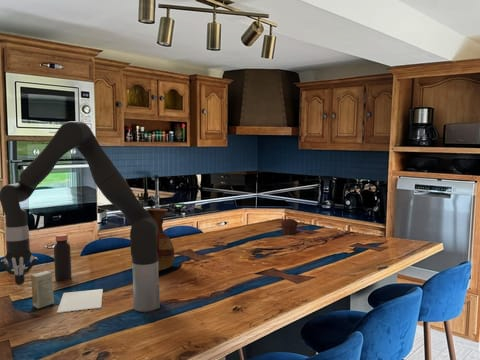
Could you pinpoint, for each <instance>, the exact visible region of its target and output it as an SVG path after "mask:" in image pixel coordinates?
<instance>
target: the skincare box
mask: <svg viewBox="0 0 480 360" xmlns="http://www.w3.org/2000/svg"><path fill="white" fill-rule="evenodd" d="M30 281H31V294H32V305H33V307H35V308H36V309H40V308H43V307H44V308H45V307H47V306H50V305H53V304H55V299H54V298H55V296H54V283H53V272H51V271H48V270H43V271H40V272H36V273H33V274H30Z"/></svg>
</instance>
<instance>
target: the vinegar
mask: <svg viewBox="0 0 480 360" xmlns="http://www.w3.org/2000/svg"><path fill="white" fill-rule="evenodd" d="M68 239H69V237H68V234H67V233H58V234H56V235H55V241H56V243H55V245H54V246H53V257H54V260H53V261H54V263H53V264H54V279H55V281H58V282H64V281H68V280H70V279H71V278H72V258H71V257H72V256H71V253H72V252H71V244H69V243H68V241H69V240H68Z"/></svg>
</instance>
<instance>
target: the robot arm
mask: <svg viewBox="0 0 480 360" xmlns="http://www.w3.org/2000/svg"><path fill="white" fill-rule="evenodd" d="M74 148H76V150H77V151H79V153H80V154H81V155H82V157H83V158H84V160H85V161H86V163H87V165H88V168H89V171H90V174H91V177H92V180H93V182H94V184H95V186H97V188H98V189H99V191H100V192H101V194H102V195H103V196H104V198H106V199H107V200H108V202H110V203H111V204H112V205H113V206H114V207H116V209H118V211H120V212H121V213H122V214H123V215H124V217H125V218H126V220H127V221H128V223H129V225H130V226H131V228H130V230H129V232H130V233H129V243H130V244H129V245H130V255H131V266H132V297H133V302H132V303H133V309H134V311H137V312H143V313H144V312H146V313H147V312H152V311H154V310H157V309H160V308H161V304H160V303H161V300H160V297H161V296H160V282H159V281H160V280H159V271H158V253H157V241H156V235H157V233H158V225H157V222H156V221H155V220H154V219H153V217H152V216H151V215H150V214H149V213H148V212H147V211H146V210H145V207H144V206H143V205H142V204H141V202H140V201H139V199H138V198H137V196H136V195H135V192H134V191H133V190H132V188H131V187H130V185H129V184H128V182H127V181H126V179H125V178H124V176H123V175H122V174H121V172H120V171H119V169H118V168H117V167H116V166H115V164H114V163H113V162H112V160H111V159H110V157H109V156H108V155H107V154H106V152H105V151H104V149H103V148H102V146H101V145H100V143H99V141H98V139H97V137H96V136H95V134H94V133H93V130H92V129H91V127H89V125H88V124H87V123H85V122H83V121H80V120H78V121H77V120H75V121H74V120H73V121H72V120H71V121H67V122H64V123H63V124H61V125H60V126H59V128H58V130H57V131H56V132H55V134H54V135H53V137H52V138H51V139H50V141H49V142H48V144H47V145H46V146H44V149H43V150H42V151H41V152H40V153H39V154H38V155H37V156H36V158H35V159H33V160H32V162H30V163H29V164H28V165H27V166H26V167H25V168H24V169H23V170H22V171H21V172H20V175H19V181H17V182H16V183H10V184H6V185H3V186H2V187H1V189H0V205H1V208H2V211H3V213H4V215H5V245H6V246H5V247H6V250H5V251H6V254H5V255H4V258H3V259H1V260H0V266H1V267H2V268H3V269H4V270H5V271H6V272H7V273H8V274H9V275H13V276H14V279H15V281H14V282H15V284H16V285H17V286H21V285H23V284H24V283H25V280H26V279H25V274H27V273H29V272H30V270H31V269H32V268H33V266H34V265H35V264H36V262H37V261H38V260H39V258H38V257H37V256H34V255H33V254H32V252H31V247H30V246H31V245H30V230H29V226H28V225H29V224H28V212H27V210H25V209H23V208H22V207H21V204H20V203H22V202H25V201H26V200H28V199H29V198H30V197H31V196H32V194H33V193H34V192H35V190H36V189H37V187H38V186H39V185H40V184H41V183H42V182H43V181H44V180H45V179H47V177H48V176H49V175H50V173H51V172H52V171H53V169H54V168H55V166H56V165H57V163H58V161H59V160H60V159H61V158H62V157H63V156H65V154H67V153H68V152H70V151H71V150H73V149H74ZM28 261H29V262H30V263H29V265H28V266H27V267H26V264H27V263H28Z"/></svg>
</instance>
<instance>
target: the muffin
mask: <svg viewBox="0 0 480 360" xmlns="http://www.w3.org/2000/svg"><path fill="white" fill-rule="evenodd" d="M280 225H281V229H282V235H285V236H295V235H296V234H297V228H298V226H299V223H298V222H297V220H295V219H294V218H286V219H283V220H282V221H281V223H280Z"/></svg>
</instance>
